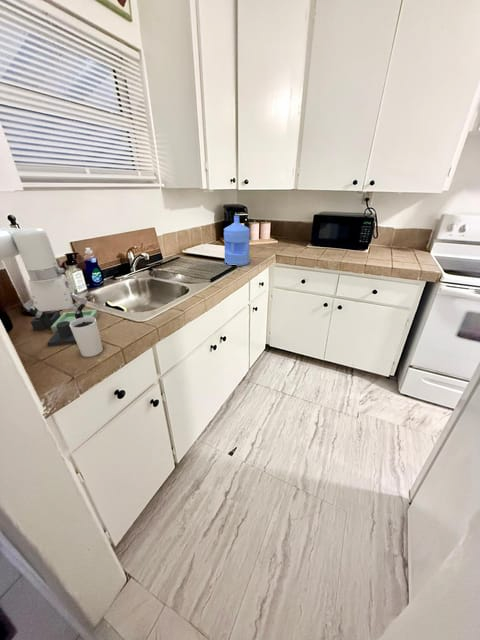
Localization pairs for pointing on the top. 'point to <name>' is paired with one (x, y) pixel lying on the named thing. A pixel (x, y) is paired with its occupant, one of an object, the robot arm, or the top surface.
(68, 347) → the top surface
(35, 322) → the dark grey square bin
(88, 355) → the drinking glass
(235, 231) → the water jug
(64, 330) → the black stud pad
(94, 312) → the green square tray
